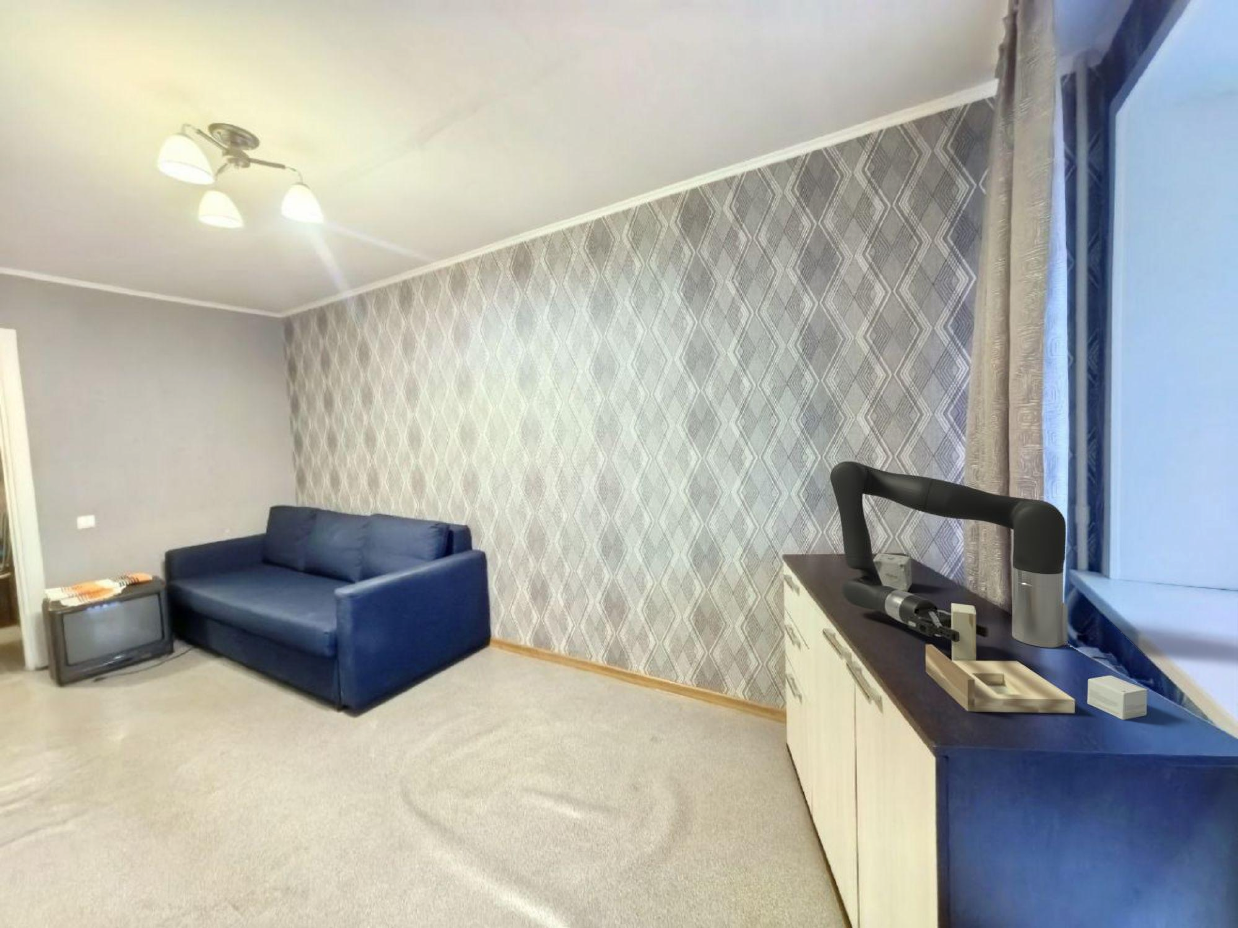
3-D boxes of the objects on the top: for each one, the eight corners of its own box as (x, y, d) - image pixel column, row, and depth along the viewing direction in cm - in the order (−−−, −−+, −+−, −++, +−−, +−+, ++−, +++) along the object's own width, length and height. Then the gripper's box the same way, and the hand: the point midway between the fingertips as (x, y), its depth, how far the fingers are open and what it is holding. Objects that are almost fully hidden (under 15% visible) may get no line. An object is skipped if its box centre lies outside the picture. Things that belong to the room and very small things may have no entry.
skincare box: (976, 670, 106) (976, 614, 105) (952, 666, 108) (952, 611, 107) (974, 658, 111) (974, 604, 110) (951, 654, 113) (951, 601, 113)
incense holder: (871, 588, 161) (871, 557, 160) (879, 582, 167) (878, 551, 166) (905, 594, 154) (905, 561, 153) (912, 587, 160) (912, 555, 159)
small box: (1147, 715, 88) (1148, 688, 87) (1123, 721, 87) (1123, 693, 86) (1109, 699, 93) (1110, 673, 93) (1086, 703, 92) (1086, 678, 92)
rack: (1016, 672, 104) (1017, 644, 104) (1074, 712, 89) (1075, 680, 89) (925, 671, 106) (925, 644, 106) (967, 711, 91) (967, 679, 91)
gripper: (885, 597, 121) (945, 622, 105) (934, 591, 124) (999, 613, 108) (886, 628, 121) (945, 656, 105) (934, 620, 125) (998, 647, 109)
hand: (972, 634), depth 107 cm, fingers closed on skincare box, 7 cm apart
